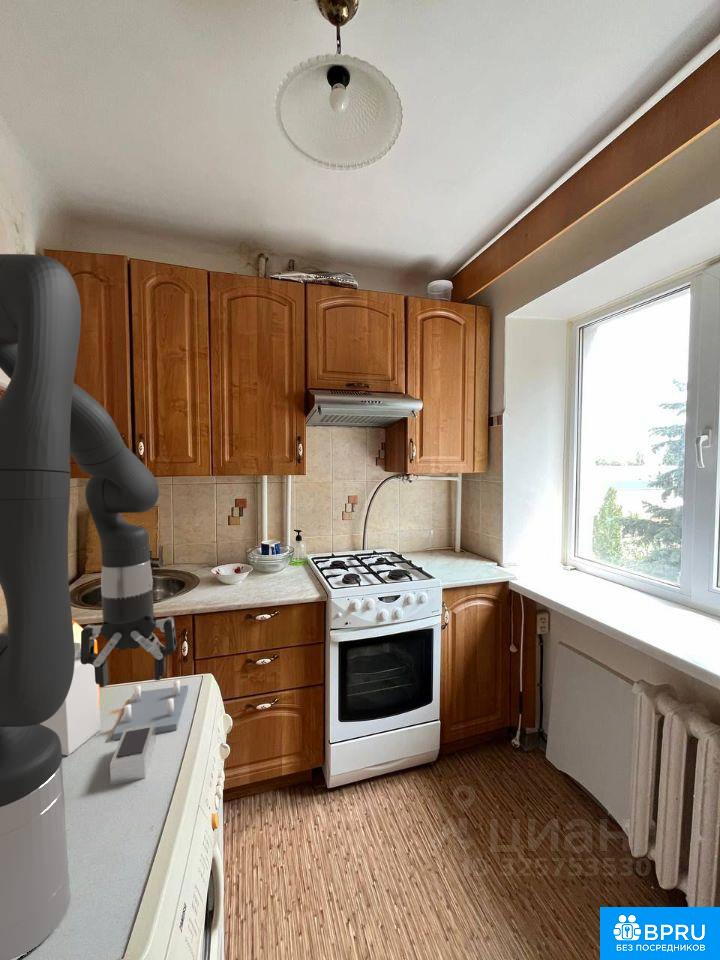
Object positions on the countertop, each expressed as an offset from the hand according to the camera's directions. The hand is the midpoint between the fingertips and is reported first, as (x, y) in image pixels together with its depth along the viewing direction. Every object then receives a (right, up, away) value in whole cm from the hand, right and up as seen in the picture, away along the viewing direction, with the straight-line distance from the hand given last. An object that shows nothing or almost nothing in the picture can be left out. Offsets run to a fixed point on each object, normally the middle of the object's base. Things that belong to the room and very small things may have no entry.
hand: (131, 681), depth 71 cm
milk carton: (-15, -14, +6) cm, 22 cm away
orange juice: (-21, -14, +16) cm, 30 cm away
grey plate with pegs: (-3, -13, +14) cm, 20 cm away
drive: (0, -15, +1) cm, 15 cm away
